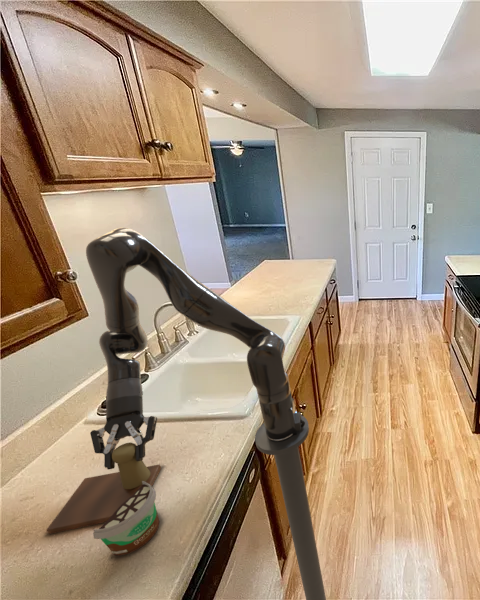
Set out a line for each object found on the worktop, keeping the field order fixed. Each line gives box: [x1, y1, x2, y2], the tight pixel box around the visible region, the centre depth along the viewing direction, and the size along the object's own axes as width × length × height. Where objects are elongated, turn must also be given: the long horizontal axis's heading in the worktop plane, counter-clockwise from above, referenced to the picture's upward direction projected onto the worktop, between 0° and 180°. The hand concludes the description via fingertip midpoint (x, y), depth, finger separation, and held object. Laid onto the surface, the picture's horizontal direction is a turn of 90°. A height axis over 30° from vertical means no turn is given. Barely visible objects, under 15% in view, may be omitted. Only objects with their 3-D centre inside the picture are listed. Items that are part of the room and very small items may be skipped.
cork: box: [112, 442, 150, 489], centre depth 85 cm, size 6×6×11 cm
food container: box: [92, 481, 160, 557], centre depth 73 cm, size 12×6×10 cm, turn 170°
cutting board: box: [46, 464, 162, 535], centre depth 84 cm, size 18×14×2 cm
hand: (125, 464), depth 83 cm, fingers open, 5 cm apart
